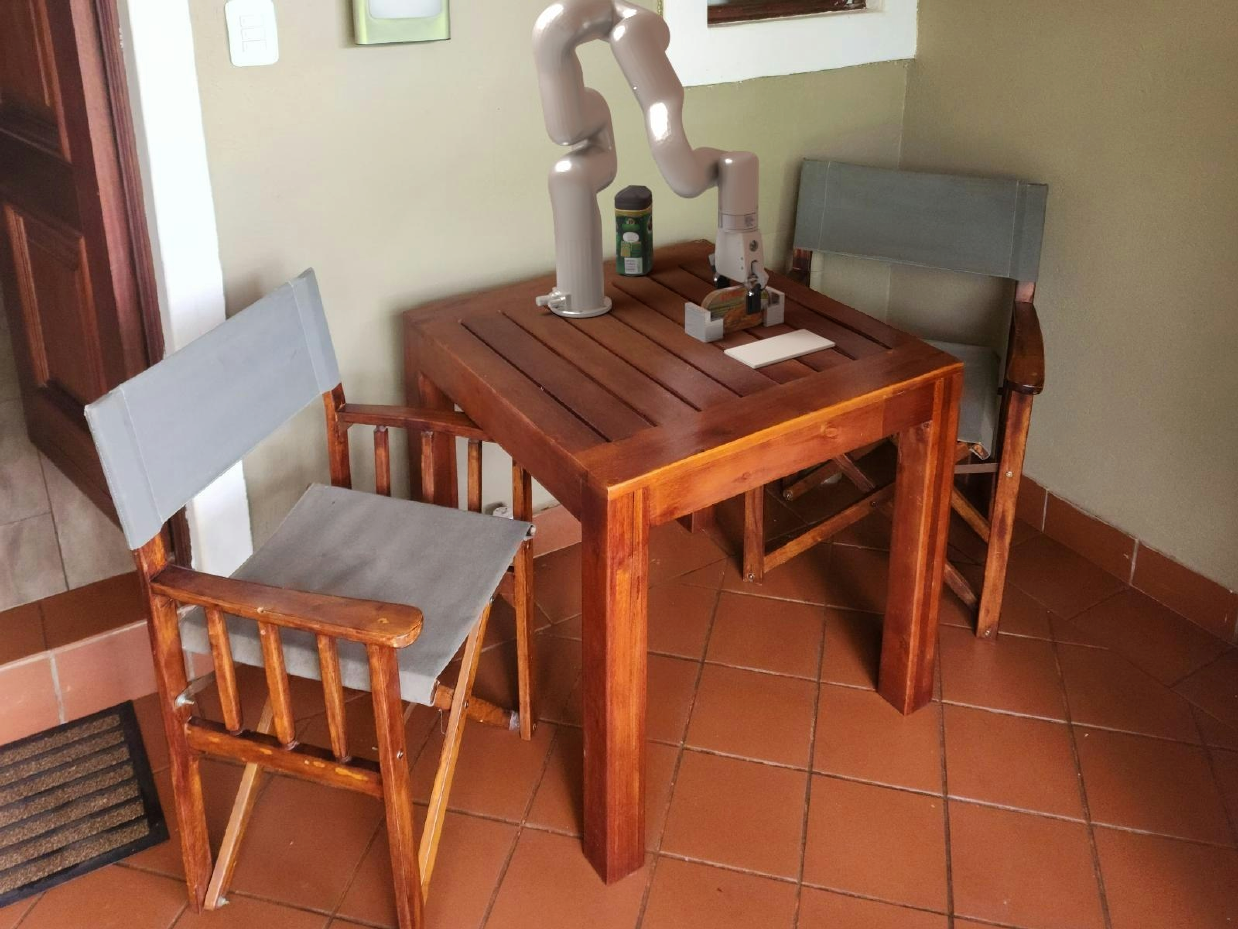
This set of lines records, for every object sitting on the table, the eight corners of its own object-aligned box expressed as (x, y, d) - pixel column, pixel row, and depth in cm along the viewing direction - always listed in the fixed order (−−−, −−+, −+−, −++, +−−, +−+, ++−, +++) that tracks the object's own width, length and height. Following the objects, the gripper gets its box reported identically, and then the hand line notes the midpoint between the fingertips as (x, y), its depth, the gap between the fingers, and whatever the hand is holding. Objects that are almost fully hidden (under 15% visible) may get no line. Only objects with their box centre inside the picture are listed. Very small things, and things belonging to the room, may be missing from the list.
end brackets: (783, 322, 232) (784, 293, 229) (704, 342, 223) (705, 313, 220) (762, 312, 237) (763, 284, 234) (685, 332, 228) (685, 303, 225)
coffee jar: (622, 262, 267) (621, 181, 259) (656, 264, 265) (656, 183, 257) (611, 276, 259) (609, 192, 250) (646, 278, 257) (645, 194, 249)
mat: (754, 368, 211) (754, 365, 211) (724, 353, 218) (724, 350, 218) (834, 346, 220) (834, 343, 220) (803, 331, 227) (803, 328, 227)
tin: (705, 337, 226) (706, 295, 222) (697, 332, 228) (697, 291, 224) (771, 323, 232) (772, 282, 228) (762, 318, 234) (763, 277, 230)
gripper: (783, 225, 215) (781, 314, 223) (726, 207, 228) (726, 291, 236) (750, 233, 211) (749, 323, 219) (695, 213, 225) (696, 299, 233)
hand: (737, 306), depth 228 cm, fingers open, 9 cm apart
